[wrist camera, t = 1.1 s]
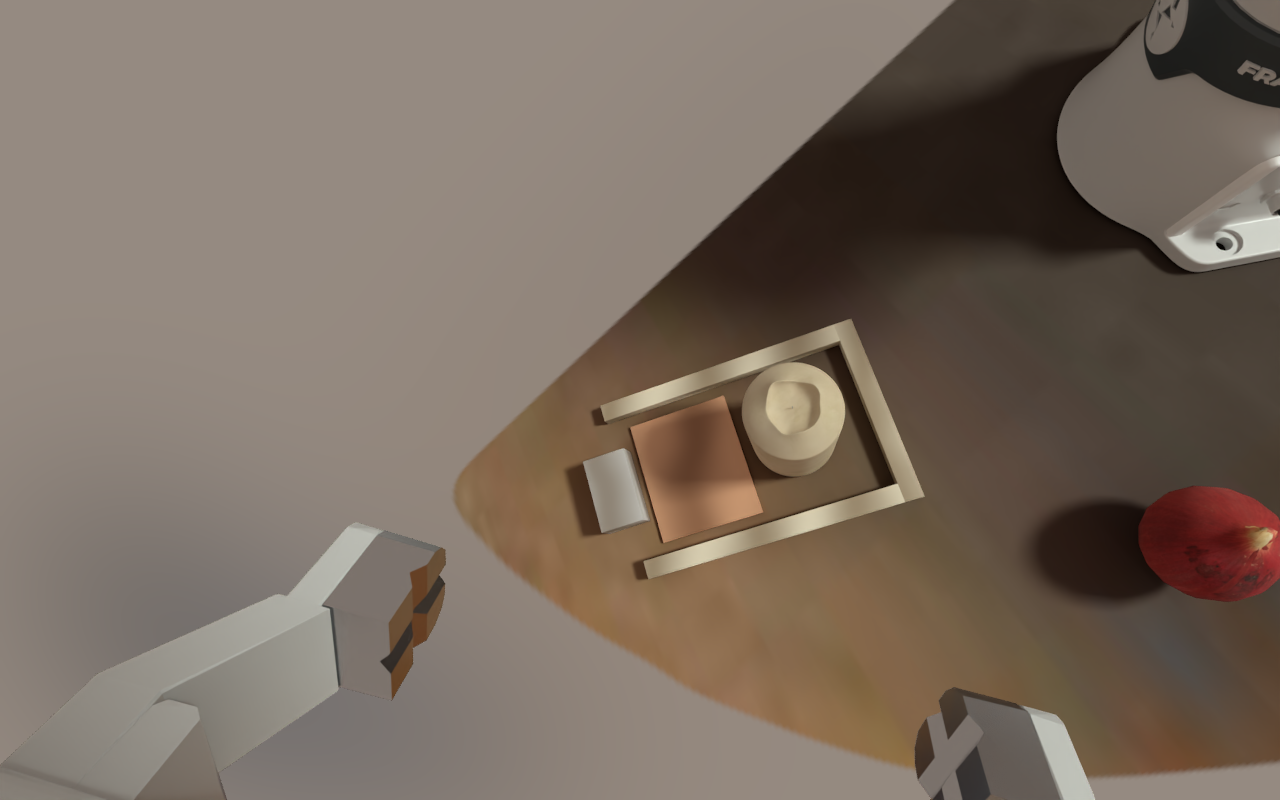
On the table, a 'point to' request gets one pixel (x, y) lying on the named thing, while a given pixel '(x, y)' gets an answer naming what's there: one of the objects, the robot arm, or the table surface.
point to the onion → (1212, 543)
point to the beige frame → (728, 459)
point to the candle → (793, 418)
